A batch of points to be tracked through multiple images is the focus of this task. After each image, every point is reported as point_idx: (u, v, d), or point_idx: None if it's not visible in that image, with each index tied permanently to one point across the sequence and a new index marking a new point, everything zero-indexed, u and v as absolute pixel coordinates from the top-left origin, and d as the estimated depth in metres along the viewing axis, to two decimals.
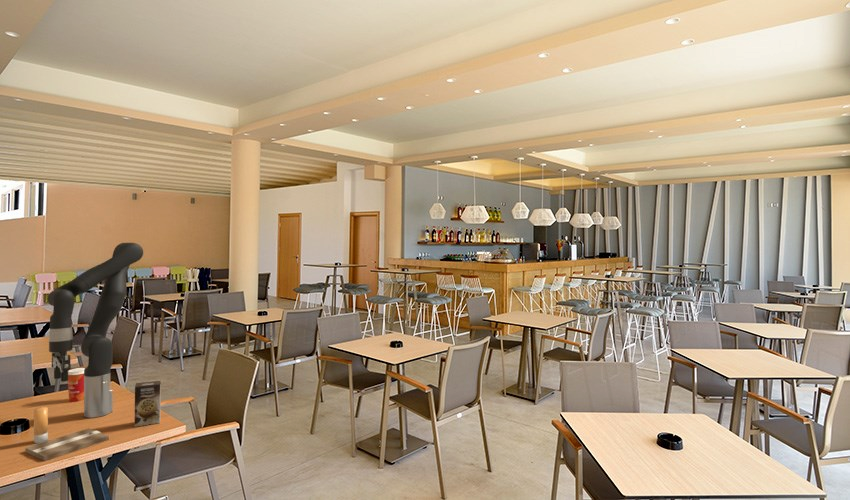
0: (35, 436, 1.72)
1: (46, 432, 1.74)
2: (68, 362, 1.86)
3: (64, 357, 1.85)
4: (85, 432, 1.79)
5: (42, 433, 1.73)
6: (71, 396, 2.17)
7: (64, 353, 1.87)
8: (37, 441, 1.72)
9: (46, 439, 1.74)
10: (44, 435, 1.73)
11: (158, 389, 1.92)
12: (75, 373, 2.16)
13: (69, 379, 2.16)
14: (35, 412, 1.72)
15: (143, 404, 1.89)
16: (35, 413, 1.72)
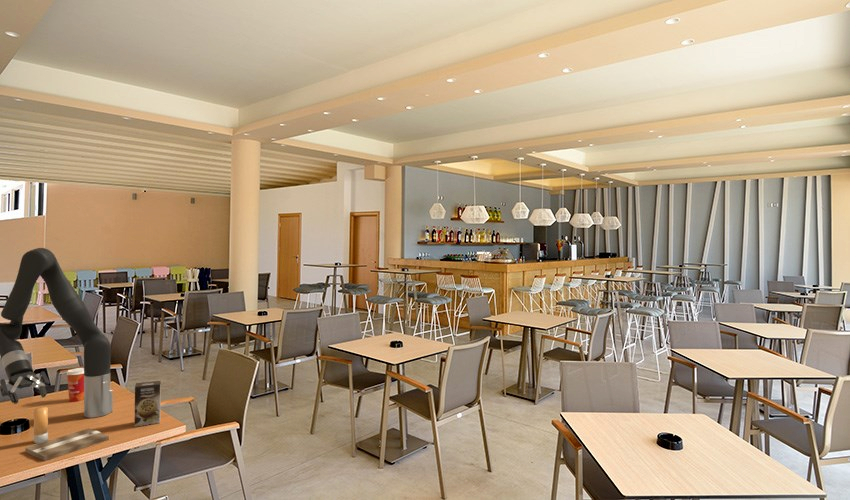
0: (35, 436, 1.72)
1: (46, 432, 1.74)
2: (1, 386, 1.74)
3: None
4: (85, 432, 1.79)
5: (42, 433, 1.73)
6: (71, 396, 2.17)
7: (9, 378, 1.78)
8: (37, 441, 1.72)
9: (46, 439, 1.74)
10: (44, 435, 1.73)
11: (158, 389, 1.92)
12: (75, 373, 2.16)
13: (69, 379, 2.16)
14: (35, 412, 1.72)
15: (143, 404, 1.89)
16: (35, 413, 1.72)
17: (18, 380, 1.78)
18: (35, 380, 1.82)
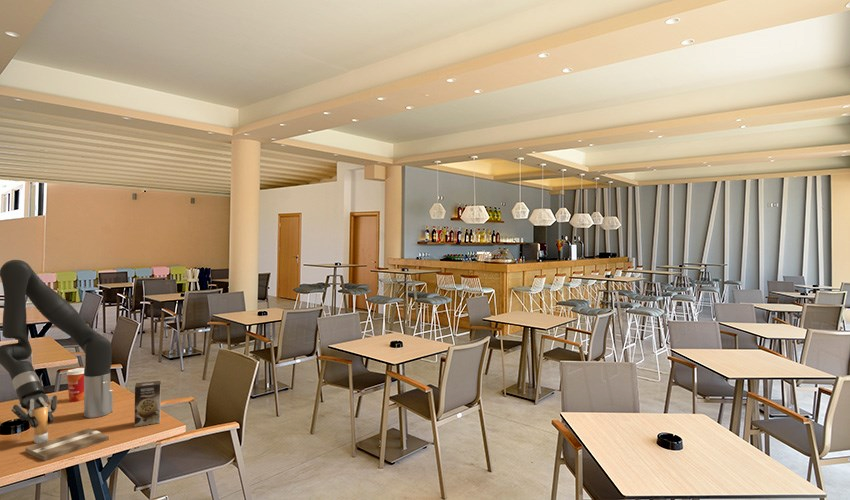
0: (36, 436, 1.72)
1: (46, 432, 1.74)
2: (17, 412, 1.70)
3: (12, 410, 1.71)
4: (85, 432, 1.79)
5: (42, 433, 1.73)
6: (71, 396, 2.17)
7: (20, 400, 1.74)
8: (37, 441, 1.72)
9: (46, 439, 1.74)
10: (44, 435, 1.73)
11: (158, 389, 1.92)
12: (75, 373, 2.16)
13: (69, 379, 2.16)
14: (35, 412, 1.72)
15: (143, 404, 1.89)
16: (35, 413, 1.72)
17: (31, 403, 1.74)
18: (44, 404, 1.76)
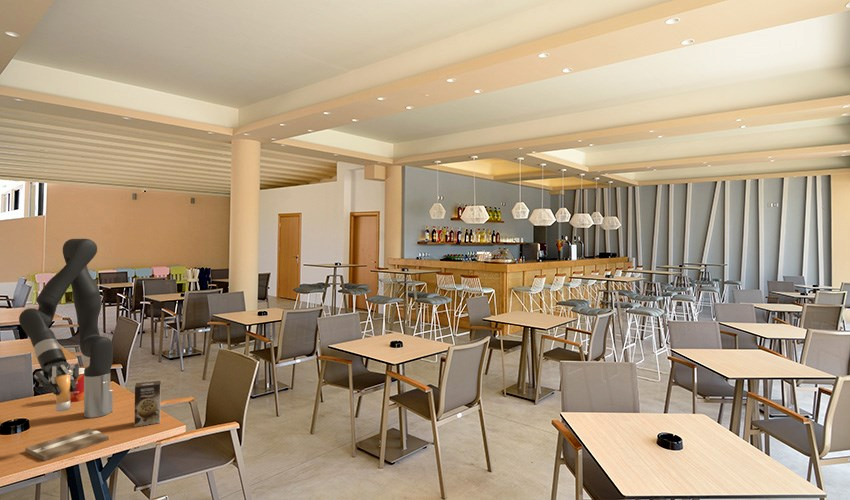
0: (58, 404, 1.67)
1: (69, 400, 1.69)
2: (40, 379, 1.65)
3: (34, 377, 1.66)
4: (85, 432, 1.79)
5: (65, 401, 1.68)
6: (71, 396, 2.17)
7: (42, 367, 1.69)
8: (60, 409, 1.67)
9: (69, 407, 1.69)
10: (66, 403, 1.68)
11: (158, 389, 1.91)
12: None
13: None
14: (58, 379, 1.67)
15: (143, 404, 1.89)
16: (58, 380, 1.67)
17: (53, 370, 1.69)
18: (66, 372, 1.72)
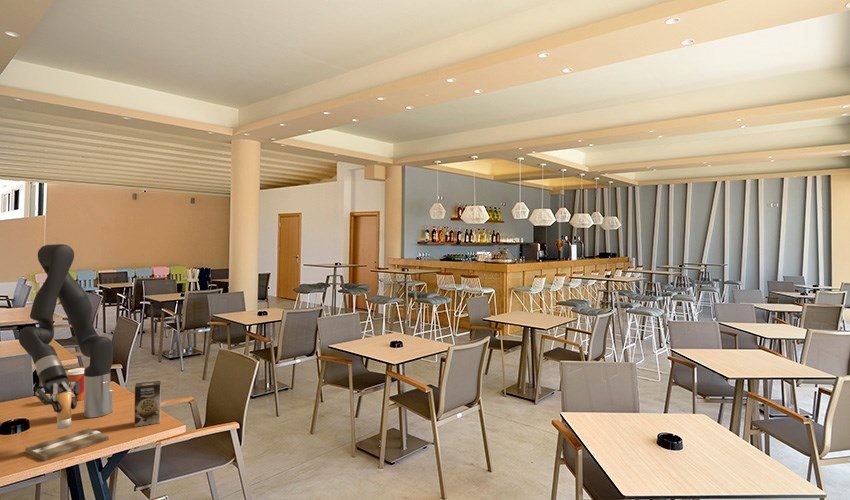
0: (59, 422, 1.67)
1: (69, 417, 1.69)
2: (41, 396, 1.65)
3: (35, 394, 1.66)
4: (85, 432, 1.79)
5: (65, 418, 1.68)
6: None
7: (43, 385, 1.69)
8: (60, 426, 1.67)
9: (69, 425, 1.69)
10: (67, 421, 1.68)
11: (158, 389, 1.92)
12: (75, 373, 2.16)
13: (69, 379, 2.16)
14: (59, 397, 1.67)
15: (143, 404, 1.89)
16: (59, 397, 1.67)
17: (54, 387, 1.69)
18: (67, 389, 1.72)
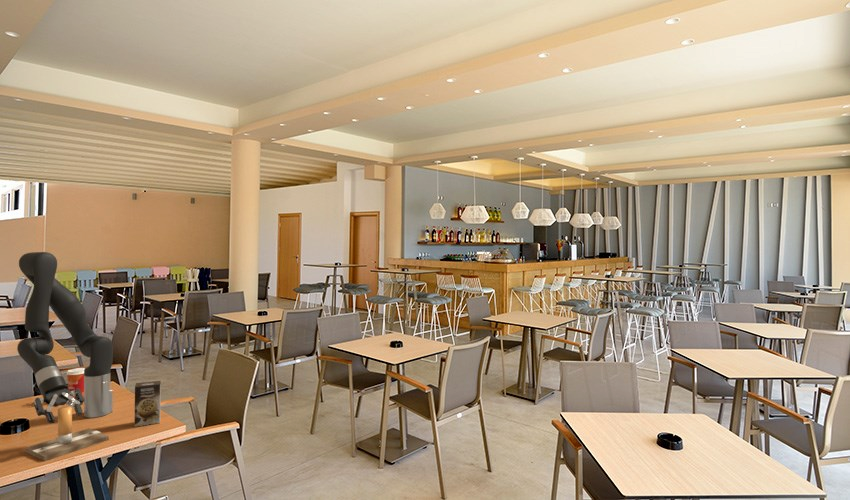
0: (60, 437, 1.68)
1: (70, 432, 1.70)
2: (36, 406, 1.65)
3: (34, 402, 1.66)
4: (85, 432, 1.79)
5: (66, 433, 1.68)
6: None
7: (44, 396, 1.69)
8: (61, 442, 1.68)
9: (70, 440, 1.70)
10: (68, 436, 1.69)
11: (158, 389, 1.91)
12: (75, 373, 2.16)
13: (69, 379, 2.16)
14: (59, 412, 1.68)
15: (143, 404, 1.89)
16: (59, 413, 1.68)
17: (53, 398, 1.69)
18: (70, 398, 1.73)
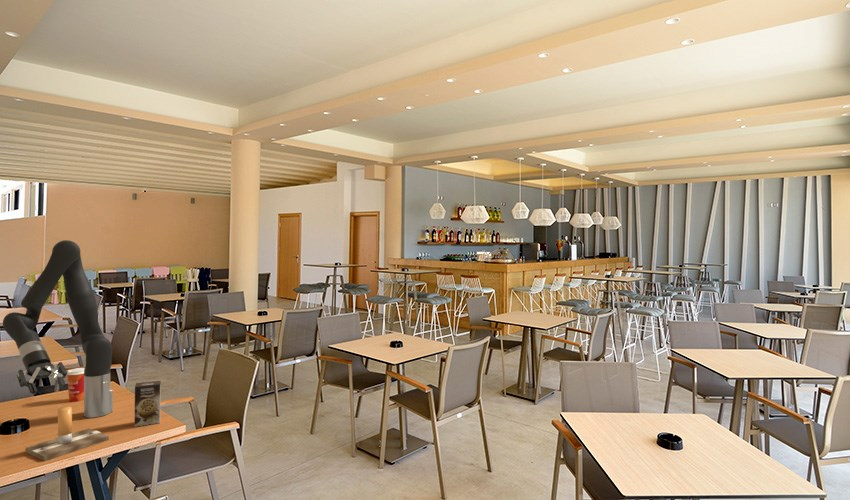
0: (60, 437, 1.68)
1: (70, 432, 1.70)
2: (19, 377, 1.71)
3: (17, 374, 1.72)
4: (85, 432, 1.79)
5: (66, 434, 1.68)
6: (71, 396, 2.17)
7: (27, 368, 1.75)
8: (61, 442, 1.68)
9: (70, 440, 1.70)
10: (68, 436, 1.69)
11: (158, 389, 1.91)
12: (75, 373, 2.16)
13: (69, 379, 2.16)
14: (59, 412, 1.67)
15: (143, 404, 1.89)
16: (59, 413, 1.67)
17: (36, 371, 1.75)
18: (53, 371, 1.79)
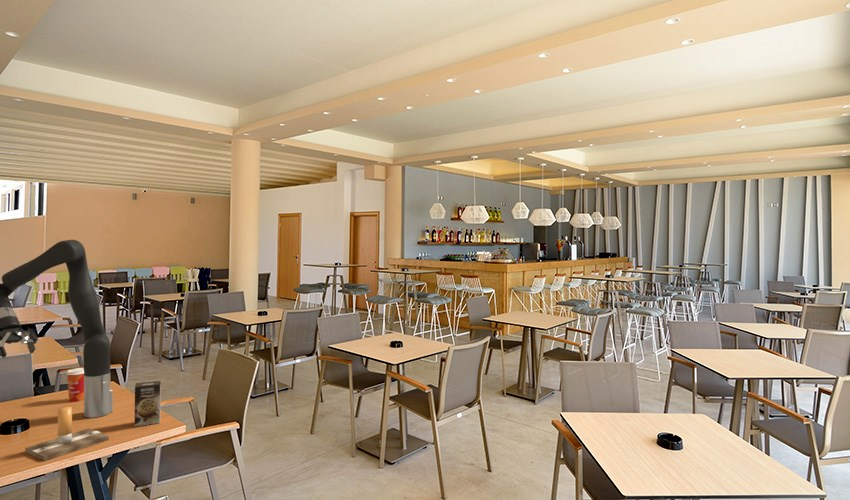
0: (60, 437, 1.68)
1: (70, 432, 1.70)
2: None
3: None
4: (85, 432, 1.79)
5: (66, 434, 1.68)
6: (71, 396, 2.17)
7: None
8: (61, 442, 1.68)
9: (70, 440, 1.70)
10: (68, 436, 1.69)
11: (158, 389, 1.92)
12: (75, 373, 2.16)
13: (69, 379, 2.16)
14: (59, 412, 1.67)
15: (143, 404, 1.89)
16: (59, 413, 1.67)
17: (6, 335, 1.80)
18: (23, 336, 1.84)
